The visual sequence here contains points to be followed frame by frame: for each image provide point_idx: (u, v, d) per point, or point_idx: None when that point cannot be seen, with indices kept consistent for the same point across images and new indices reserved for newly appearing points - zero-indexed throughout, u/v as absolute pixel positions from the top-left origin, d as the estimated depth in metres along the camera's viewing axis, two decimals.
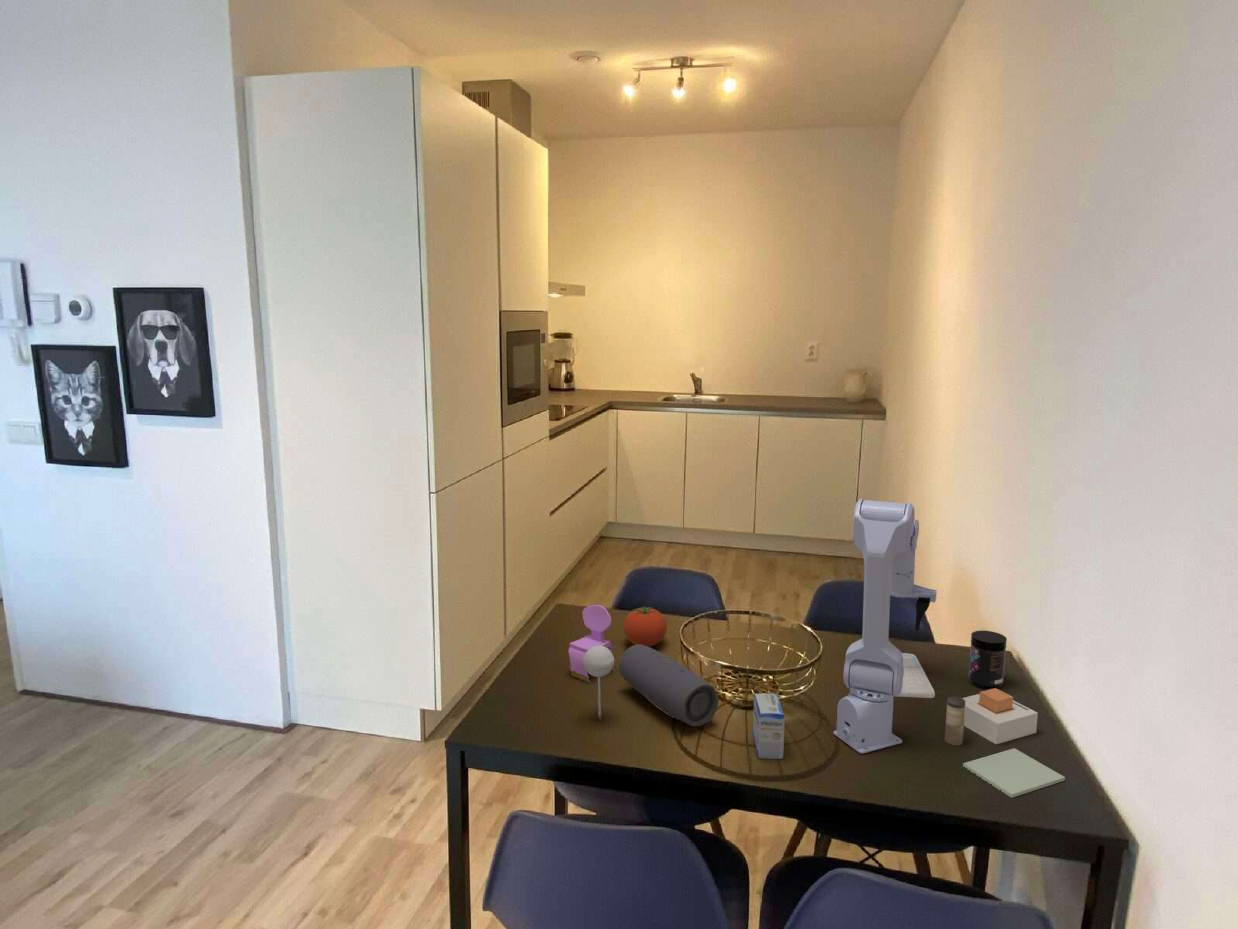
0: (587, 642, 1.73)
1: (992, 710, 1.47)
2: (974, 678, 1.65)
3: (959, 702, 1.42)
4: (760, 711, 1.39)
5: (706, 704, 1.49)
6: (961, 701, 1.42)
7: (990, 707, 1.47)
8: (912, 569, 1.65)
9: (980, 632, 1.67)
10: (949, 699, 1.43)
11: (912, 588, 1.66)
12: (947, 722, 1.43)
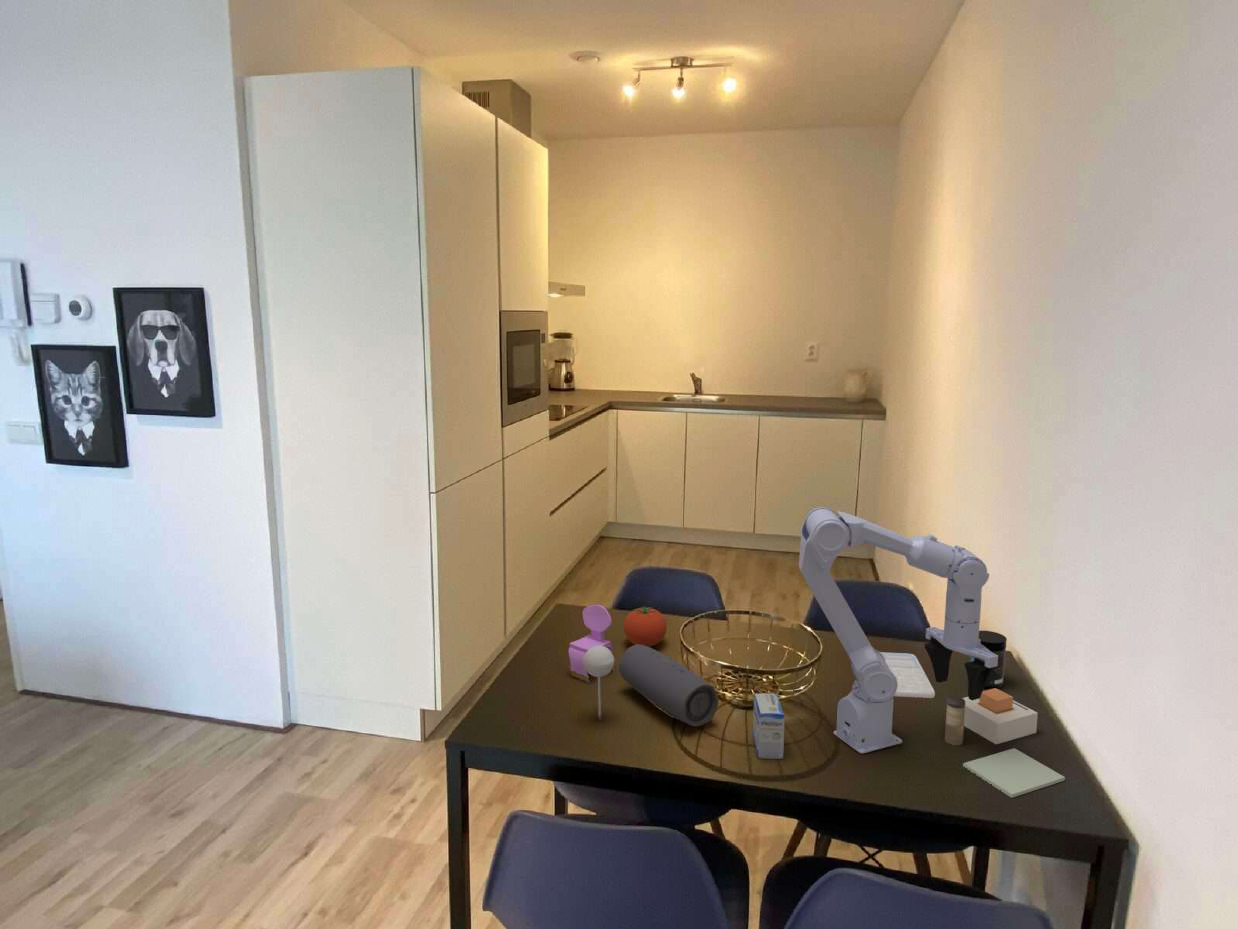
0: (587, 642, 1.73)
1: (992, 710, 1.47)
2: None
3: (959, 702, 1.42)
4: (760, 711, 1.39)
5: (706, 704, 1.49)
6: (961, 701, 1.42)
7: (990, 707, 1.47)
8: (961, 619, 1.38)
9: (980, 632, 1.67)
10: (949, 699, 1.43)
11: (969, 644, 1.38)
12: (947, 722, 1.43)
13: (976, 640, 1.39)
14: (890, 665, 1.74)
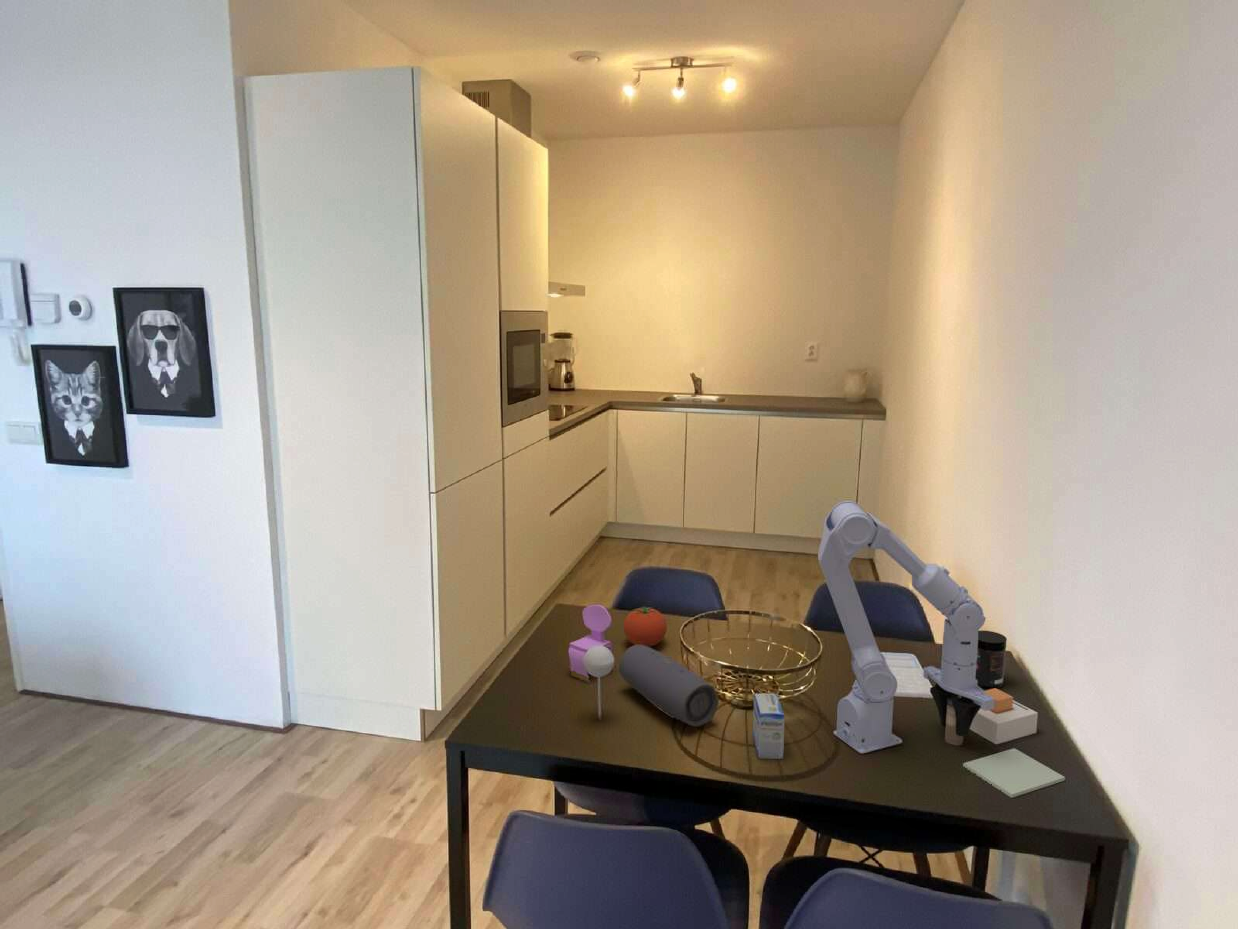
0: (587, 642, 1.73)
1: (992, 710, 1.47)
2: None
3: None
4: (760, 711, 1.39)
5: (706, 704, 1.49)
6: None
7: None
8: (957, 661, 1.39)
9: (980, 632, 1.67)
10: (949, 699, 1.43)
11: (965, 686, 1.39)
12: (947, 722, 1.43)
13: (973, 682, 1.40)
14: (890, 665, 1.74)
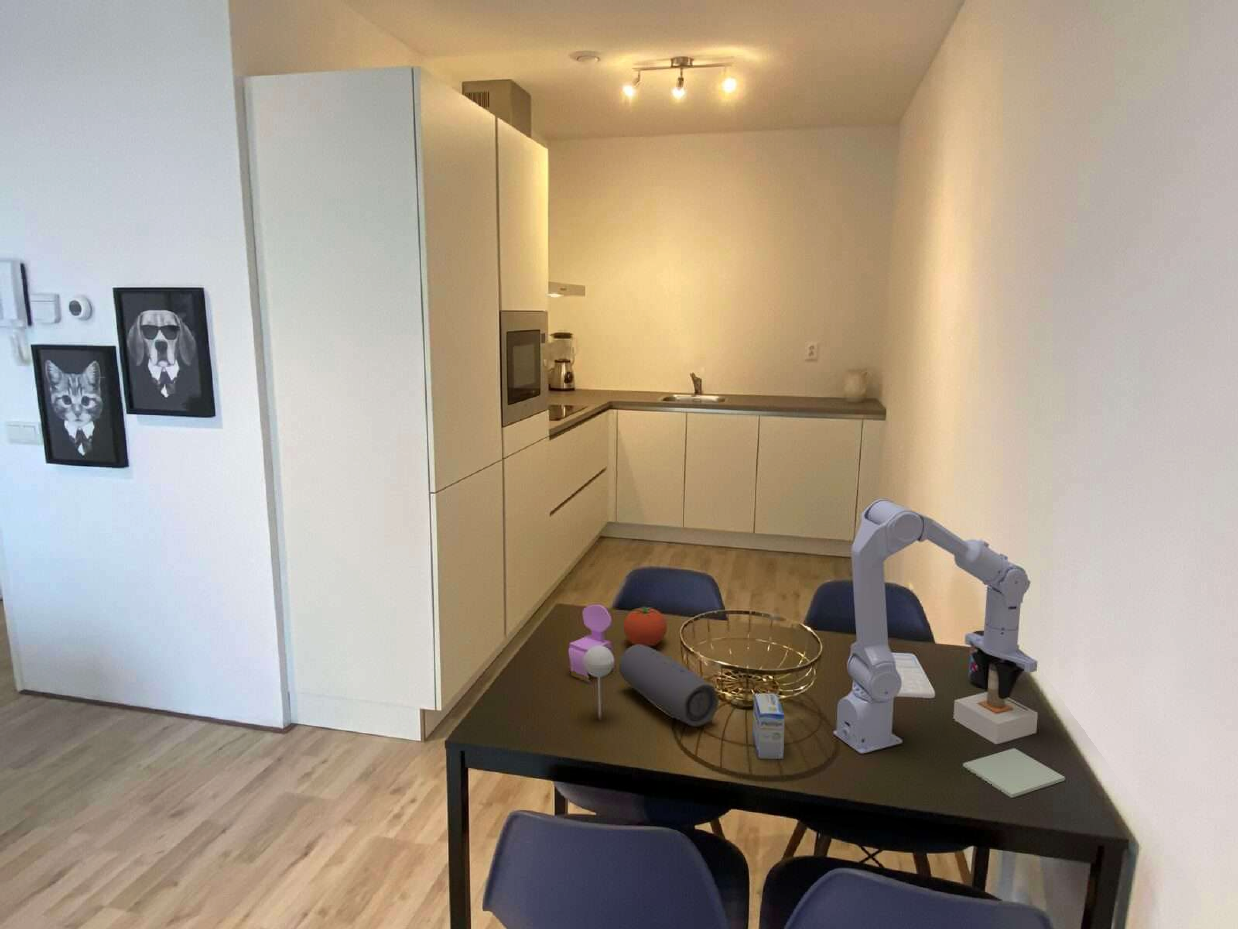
0: (587, 642, 1.73)
1: None
2: (974, 678, 1.65)
3: None
4: (760, 711, 1.39)
5: (706, 704, 1.49)
6: None
7: None
8: (1005, 626, 1.43)
9: (980, 632, 1.67)
10: (991, 664, 1.47)
11: (1008, 650, 1.44)
12: (989, 686, 1.48)
13: (1015, 646, 1.44)
14: None
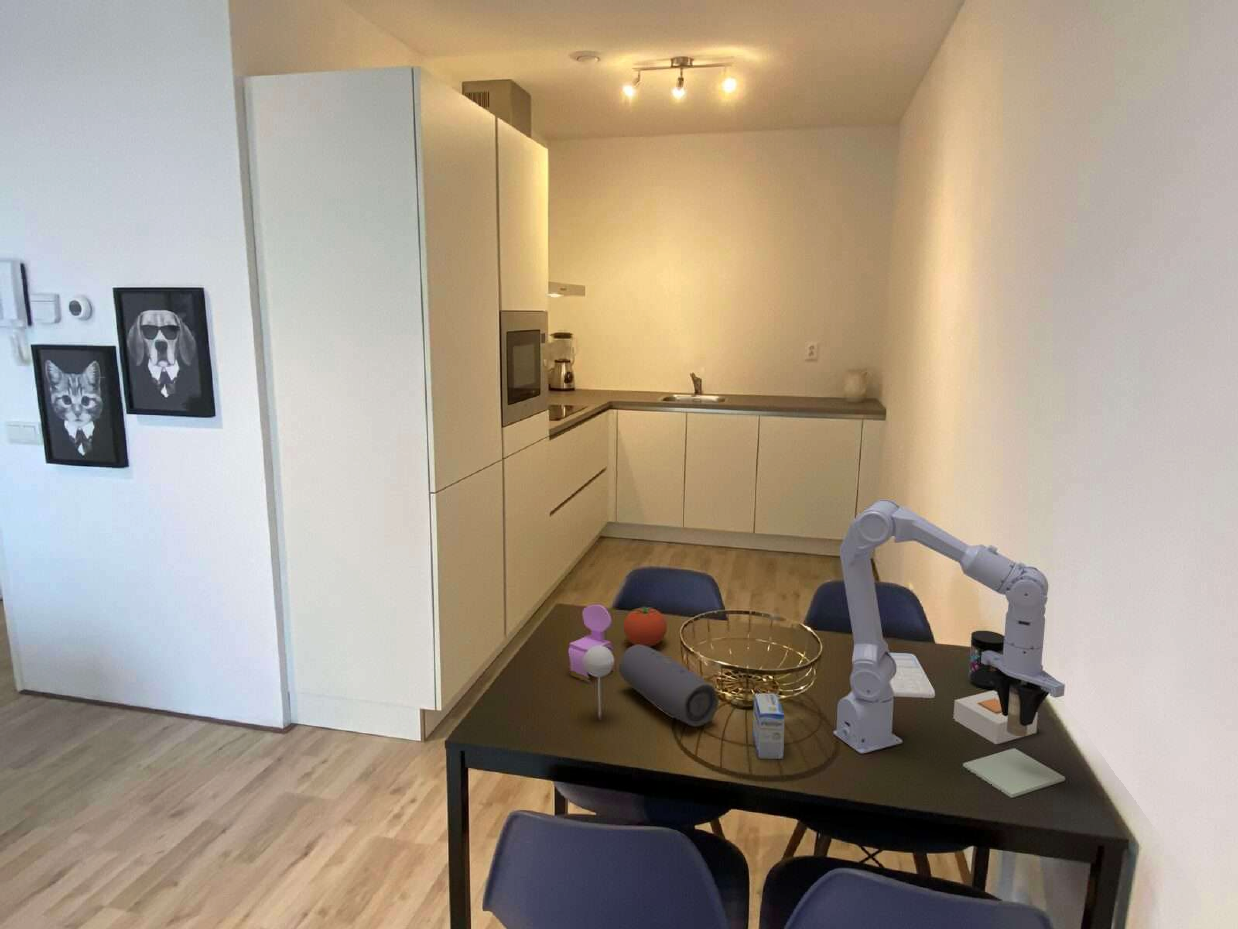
0: (587, 642, 1.73)
1: None
2: (974, 678, 1.65)
3: None
4: (760, 711, 1.39)
5: (706, 704, 1.49)
6: None
7: None
8: (1014, 642, 1.28)
9: (980, 632, 1.67)
10: (1012, 686, 1.31)
11: (1031, 671, 1.27)
12: (1010, 711, 1.31)
13: (1039, 667, 1.28)
14: None
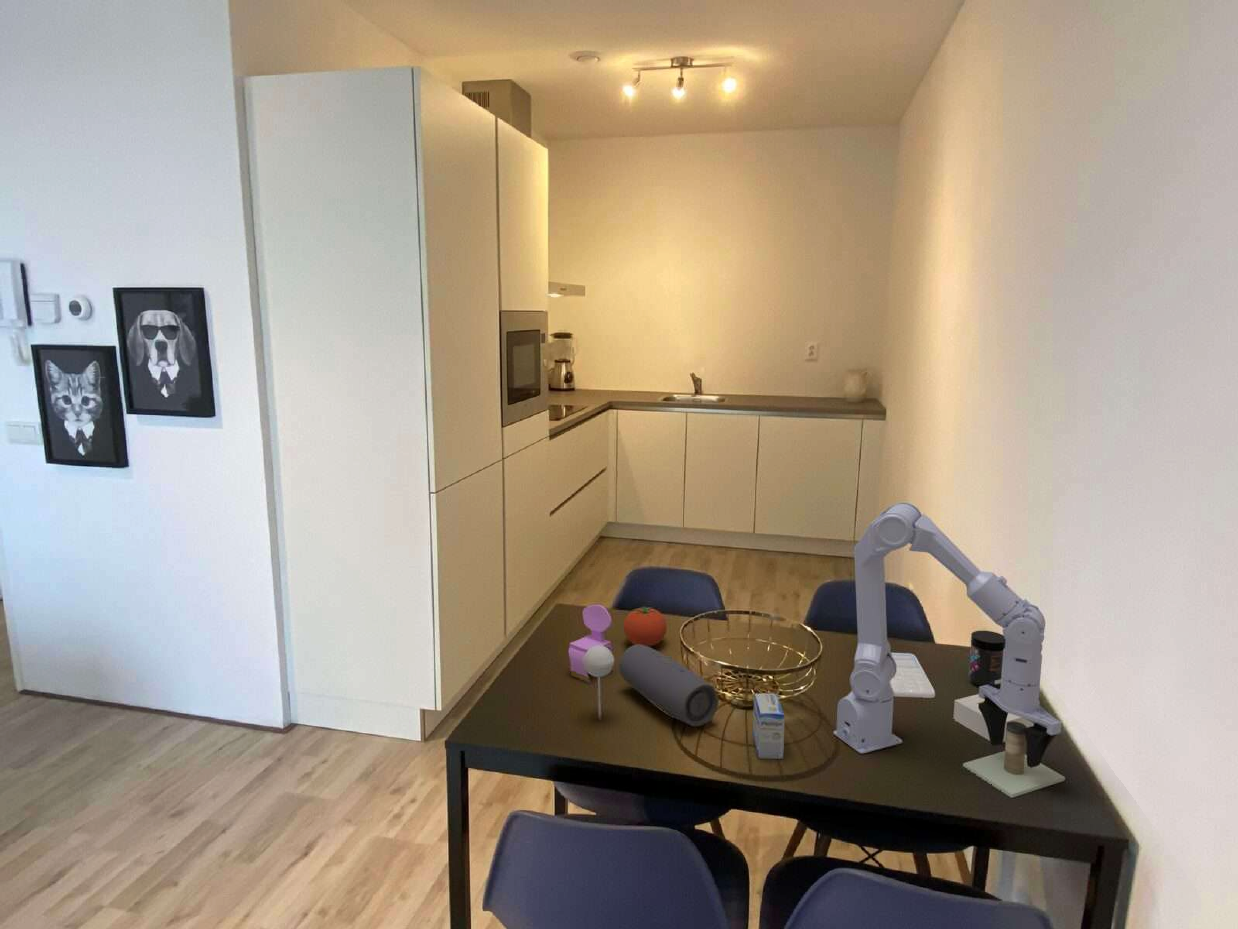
0: (587, 642, 1.73)
1: None
2: (974, 678, 1.65)
3: (1020, 728, 1.31)
4: (760, 711, 1.39)
5: (706, 704, 1.49)
6: (1022, 727, 1.32)
7: None
8: (1011, 679, 1.29)
9: (980, 632, 1.67)
10: (1009, 725, 1.33)
11: (1028, 708, 1.29)
12: (1007, 750, 1.33)
13: (1036, 703, 1.29)
14: None
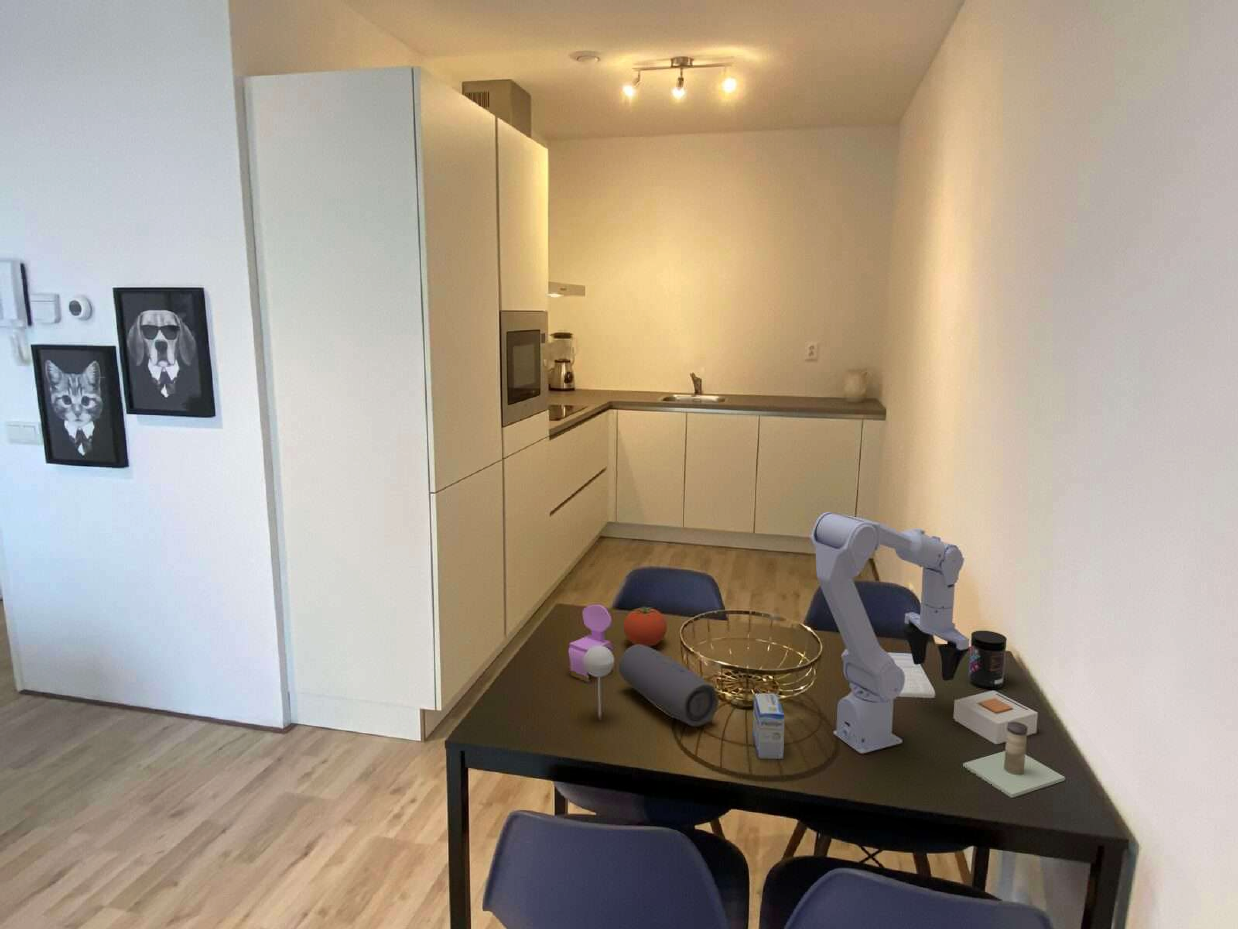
0: (587, 642, 1.73)
1: None
2: (974, 678, 1.65)
3: (1021, 728, 1.31)
4: (760, 711, 1.39)
5: (706, 704, 1.49)
6: (1023, 727, 1.32)
7: None
8: (944, 604, 1.46)
9: (980, 632, 1.67)
10: (1009, 725, 1.32)
11: (942, 628, 1.47)
12: (1007, 750, 1.33)
13: (950, 624, 1.47)
14: None
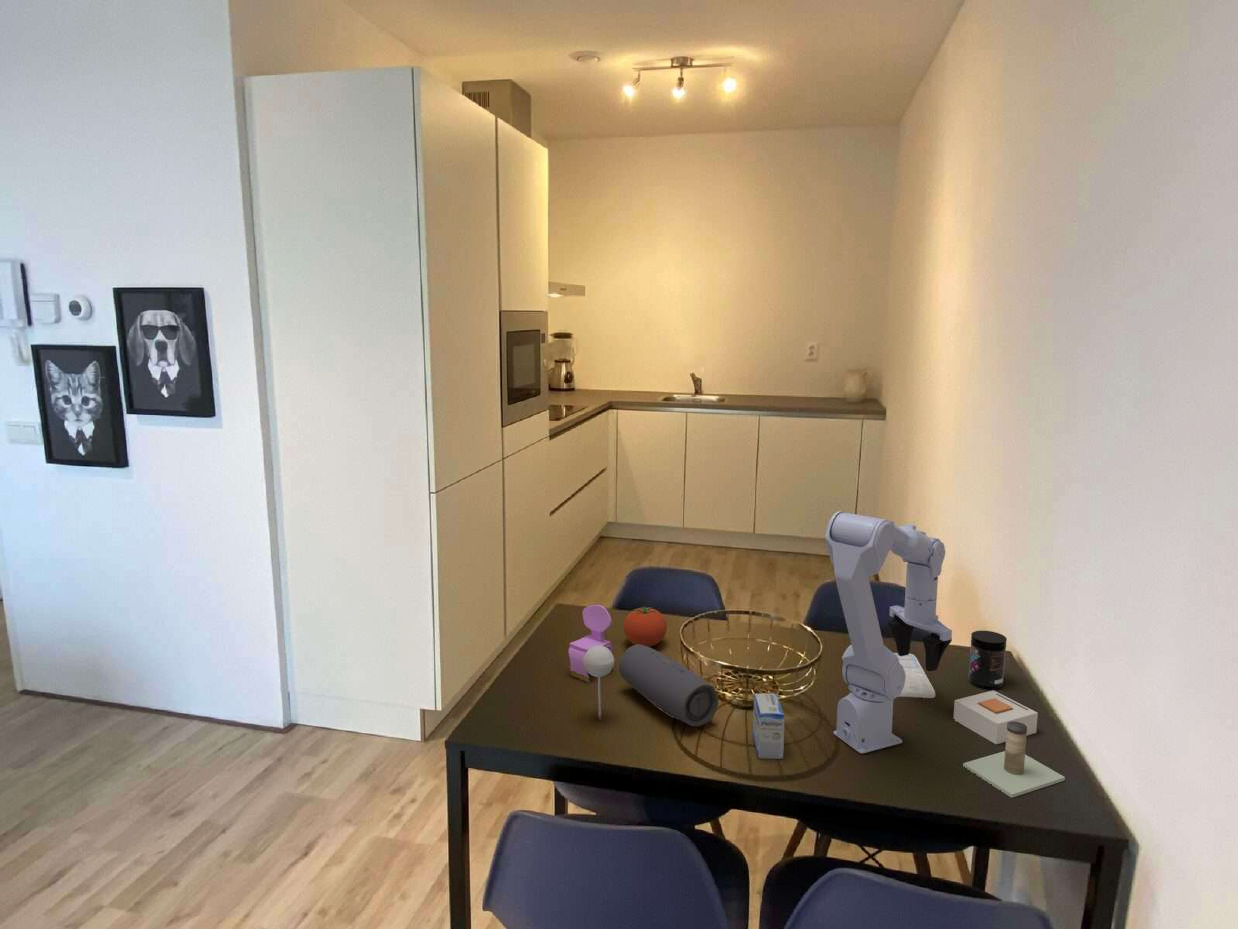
0: (587, 642, 1.73)
1: None
2: (974, 678, 1.65)
3: (1021, 728, 1.32)
4: (760, 711, 1.39)
5: (706, 704, 1.49)
6: (1022, 727, 1.32)
7: None
8: (931, 597, 1.50)
9: (980, 632, 1.67)
10: (1009, 725, 1.33)
11: (926, 620, 1.51)
12: (1007, 750, 1.33)
13: (933, 616, 1.52)
14: None
